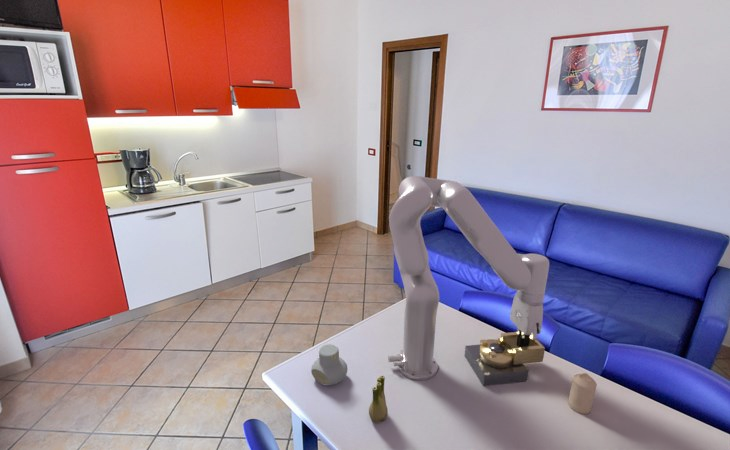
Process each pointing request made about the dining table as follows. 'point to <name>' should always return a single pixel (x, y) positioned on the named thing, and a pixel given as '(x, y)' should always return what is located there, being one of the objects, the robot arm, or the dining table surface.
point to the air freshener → (329, 366)
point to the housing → (494, 369)
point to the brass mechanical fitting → (510, 351)
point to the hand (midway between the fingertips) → (522, 346)
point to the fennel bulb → (378, 402)
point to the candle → (582, 393)
